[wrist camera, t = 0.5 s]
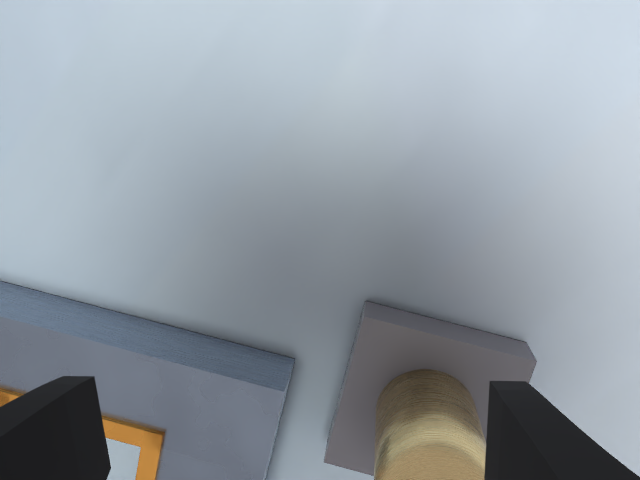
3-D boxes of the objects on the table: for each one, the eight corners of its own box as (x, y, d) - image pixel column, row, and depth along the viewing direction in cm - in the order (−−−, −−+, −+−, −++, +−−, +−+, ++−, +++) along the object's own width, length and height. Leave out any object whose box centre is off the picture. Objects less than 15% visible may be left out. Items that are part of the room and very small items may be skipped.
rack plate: (236, 599, 25) (219, 657, 23) (-169, 484, 26) (-229, 528, 24) (295, 358, 22) (283, 395, 20) (-170, 236, 23) (-240, 255, 20)
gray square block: (476, 478, 23) (482, 505, 21) (327, 438, 23) (324, 462, 21) (526, 342, 21) (536, 361, 20) (365, 301, 21) (363, 316, 20)
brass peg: (459, 468, 21) (488, 613, 15) (365, 442, 21) (358, 576, 15) (489, 383, 20) (531, 504, 14) (390, 357, 20) (392, 467, 14)
